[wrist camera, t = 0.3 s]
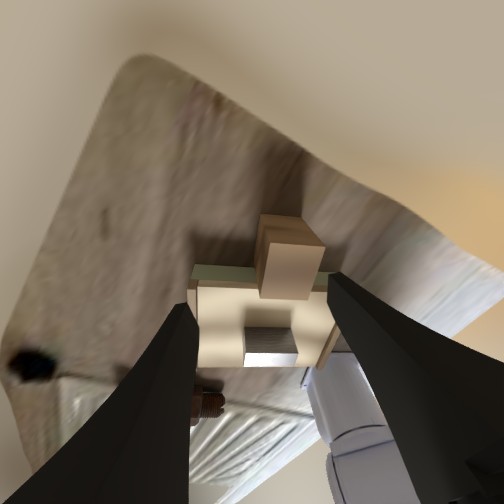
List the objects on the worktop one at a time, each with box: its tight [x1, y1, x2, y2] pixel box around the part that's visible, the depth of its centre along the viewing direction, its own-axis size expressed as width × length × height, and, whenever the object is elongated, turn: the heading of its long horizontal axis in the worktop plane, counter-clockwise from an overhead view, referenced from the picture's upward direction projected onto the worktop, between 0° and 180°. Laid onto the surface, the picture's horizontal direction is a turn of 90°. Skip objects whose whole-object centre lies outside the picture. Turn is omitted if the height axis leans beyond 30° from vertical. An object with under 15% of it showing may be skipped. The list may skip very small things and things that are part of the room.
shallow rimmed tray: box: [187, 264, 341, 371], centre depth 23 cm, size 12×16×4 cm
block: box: [253, 214, 326, 301], centre depth 18 cm, size 5×4×6 cm
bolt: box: [190, 386, 225, 426], centre depth 30 cm, size 6×5×15 cm
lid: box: [197, 280, 335, 367], centre depth 21 cm, size 12×14×4 cm
